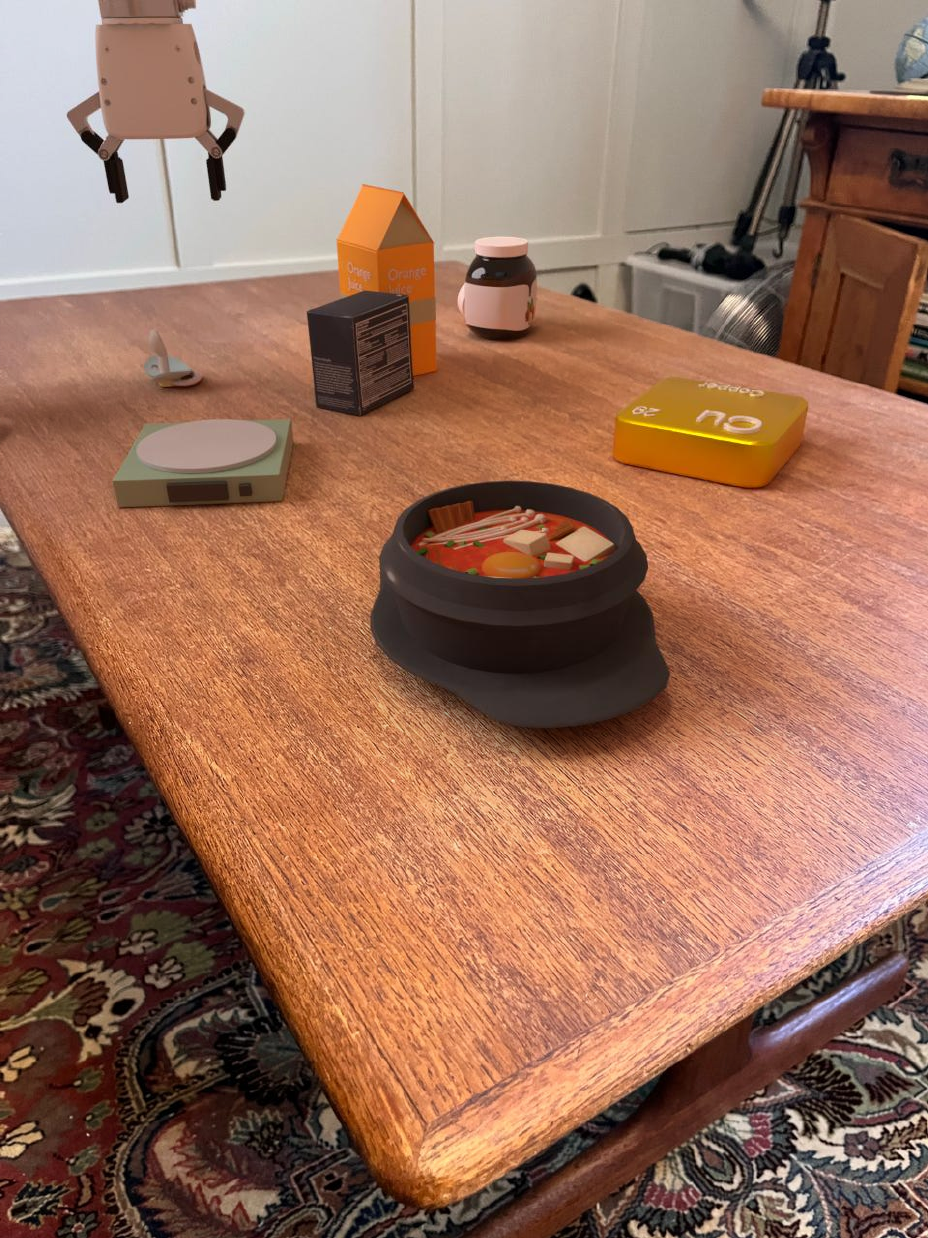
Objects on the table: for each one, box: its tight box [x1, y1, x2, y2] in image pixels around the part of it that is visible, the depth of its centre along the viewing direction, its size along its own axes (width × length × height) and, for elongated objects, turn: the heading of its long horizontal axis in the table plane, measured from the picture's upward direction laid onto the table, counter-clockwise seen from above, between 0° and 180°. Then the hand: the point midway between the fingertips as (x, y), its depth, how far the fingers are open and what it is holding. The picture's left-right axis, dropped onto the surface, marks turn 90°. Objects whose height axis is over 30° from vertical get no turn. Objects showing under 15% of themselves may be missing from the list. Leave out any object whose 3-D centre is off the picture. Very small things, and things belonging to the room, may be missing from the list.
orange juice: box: [335, 183, 438, 377], centre depth 113 cm, size 8×9×20 cm
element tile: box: [612, 376, 809, 489], centre depth 93 cm, size 15×15×5 cm
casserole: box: [369, 480, 671, 729], centre depth 63 cm, size 25×19×8 cm
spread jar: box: [457, 235, 538, 341], centre depth 129 cm, size 12×11×12 cm
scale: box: [112, 418, 294, 508], centre depth 89 cm, size 14×14×3 cm
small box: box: [306, 290, 415, 417], centre depth 106 cm, size 11×6×10 cm, turn 149°
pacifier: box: [143, 328, 203, 388], centre depth 112 cm, size 7×6×6 cm
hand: (169, 199), depth 102 cm, fingers open, 9 cm apart
